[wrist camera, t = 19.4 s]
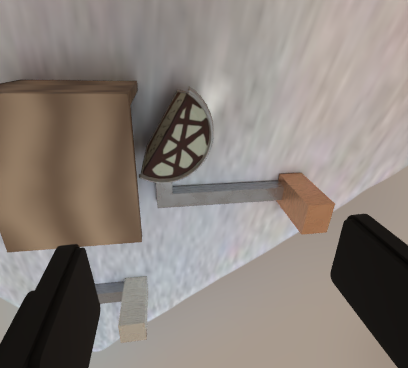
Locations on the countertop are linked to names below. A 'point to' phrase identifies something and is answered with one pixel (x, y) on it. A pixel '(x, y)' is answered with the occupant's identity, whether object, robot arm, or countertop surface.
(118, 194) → the walnut cubby
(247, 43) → the countertop surface
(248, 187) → the crook tool
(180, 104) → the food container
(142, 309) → the l-shaped tool
